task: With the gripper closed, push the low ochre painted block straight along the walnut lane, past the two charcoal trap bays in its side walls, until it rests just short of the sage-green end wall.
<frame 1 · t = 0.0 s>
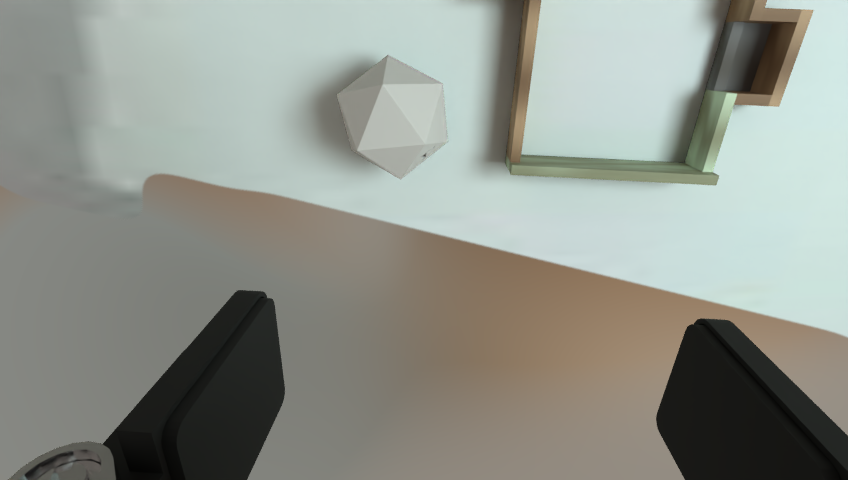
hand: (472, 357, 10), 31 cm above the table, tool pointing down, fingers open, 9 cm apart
die: (399, 112, 38), on the table
lane: (631, 4, 34), on the table
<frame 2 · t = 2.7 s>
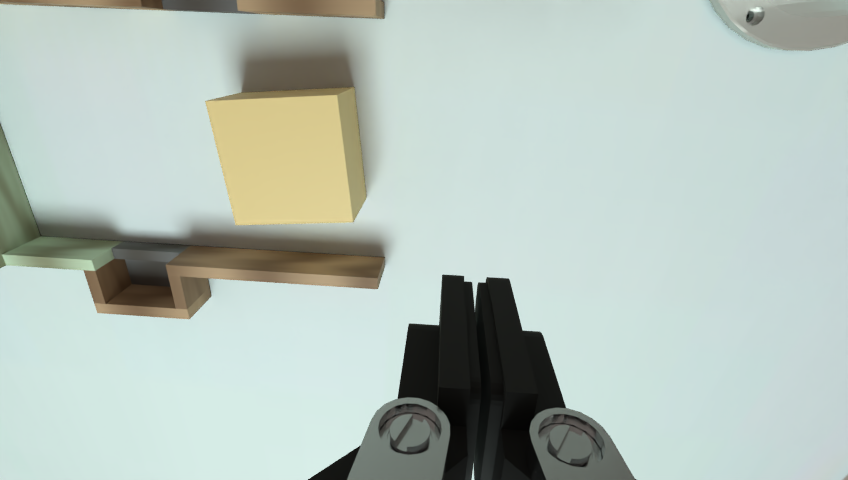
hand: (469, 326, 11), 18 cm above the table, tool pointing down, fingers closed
block: (307, 146, 28), on the table
lane: (184, 141, 28), on the table
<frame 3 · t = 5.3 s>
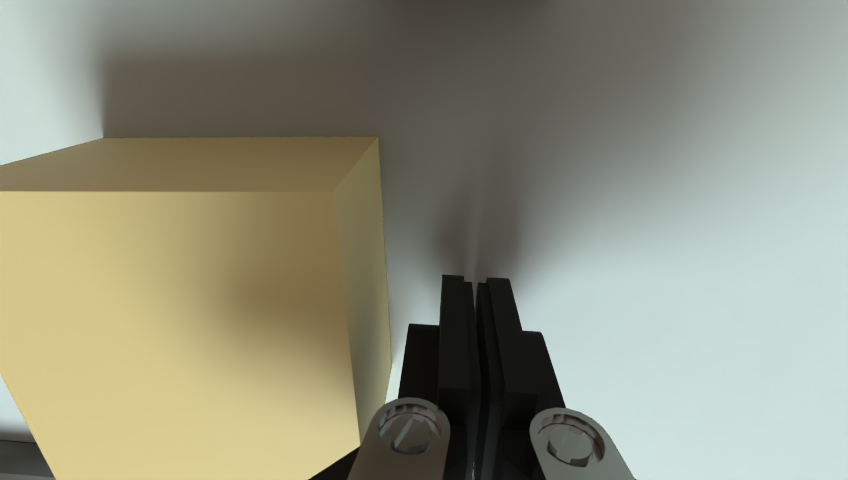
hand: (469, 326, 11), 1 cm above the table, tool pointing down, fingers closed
block: (263, 261, 12), on the table
lane: (58, 267, 13), on the table
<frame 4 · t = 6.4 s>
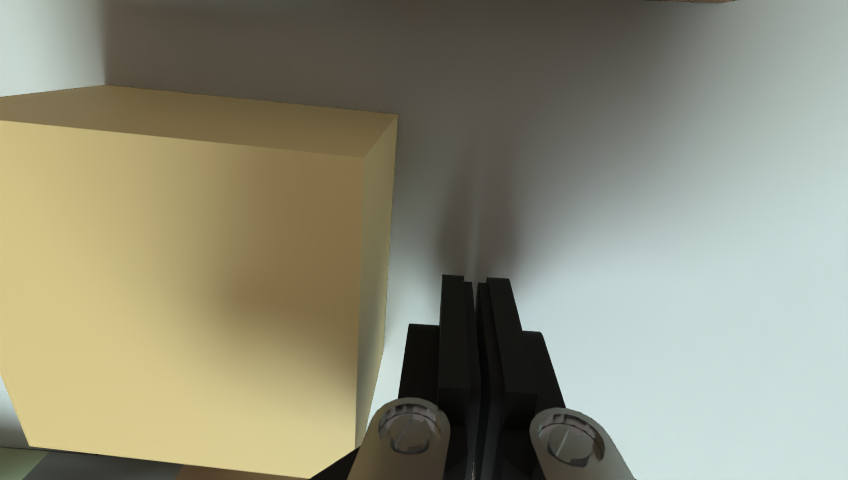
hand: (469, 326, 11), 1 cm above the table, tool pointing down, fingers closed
block: (263, 231, 12), on the table
lane: (171, 281, 12), on the table
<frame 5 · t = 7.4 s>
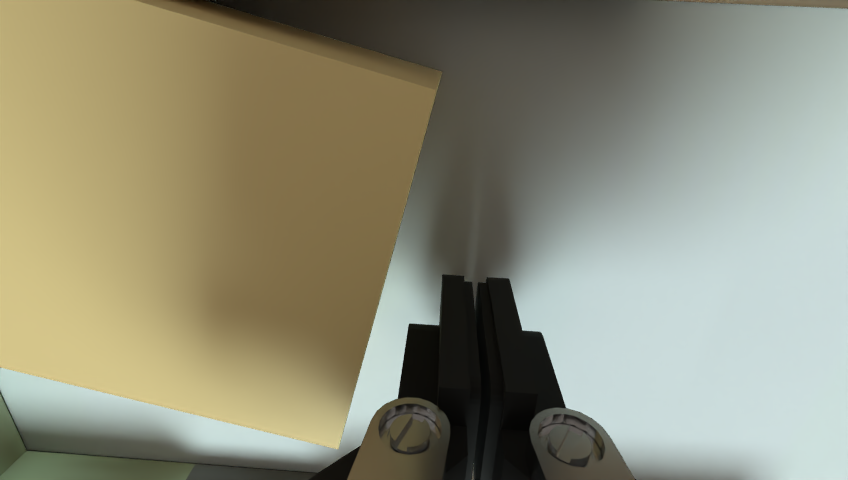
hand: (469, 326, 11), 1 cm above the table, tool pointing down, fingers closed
block: (271, 173, 11), on the table
lane: (358, 293, 12), on the table
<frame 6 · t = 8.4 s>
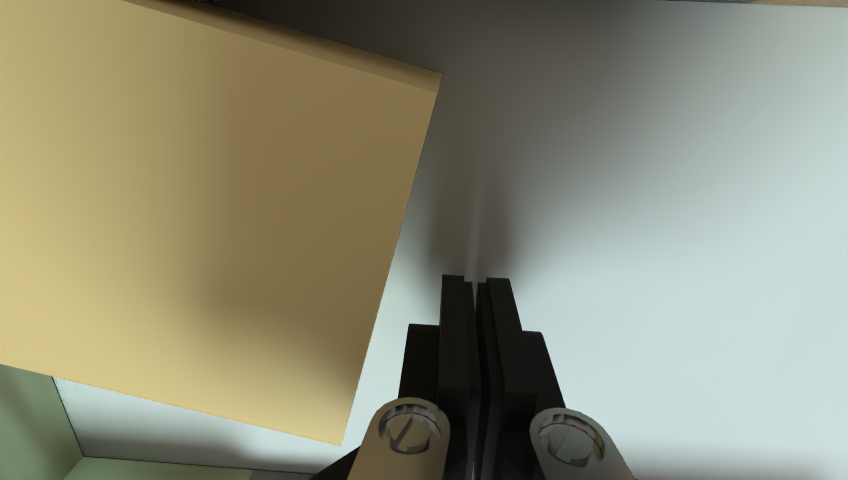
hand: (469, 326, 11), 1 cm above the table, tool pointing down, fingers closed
block: (274, 174, 11), on the table
lane: (431, 299, 12), on the table
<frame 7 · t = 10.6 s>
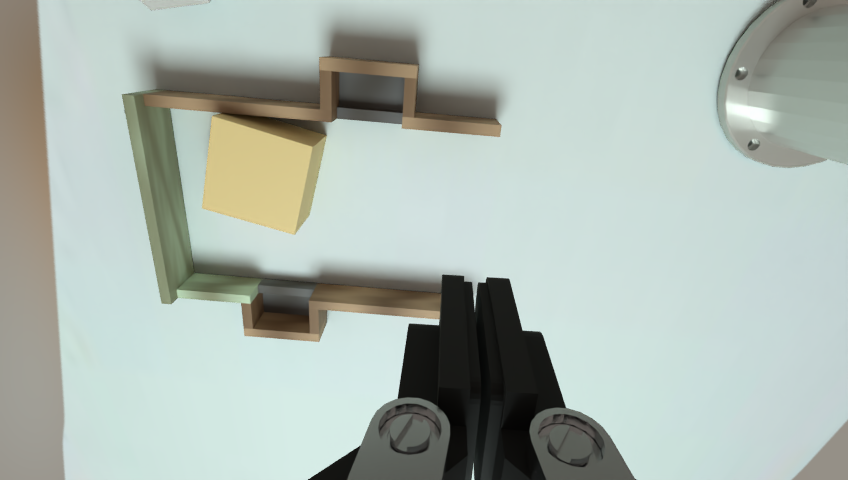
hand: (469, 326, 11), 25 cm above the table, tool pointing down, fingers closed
block: (276, 163, 35), on the table
lane: (327, 206, 37), on the table
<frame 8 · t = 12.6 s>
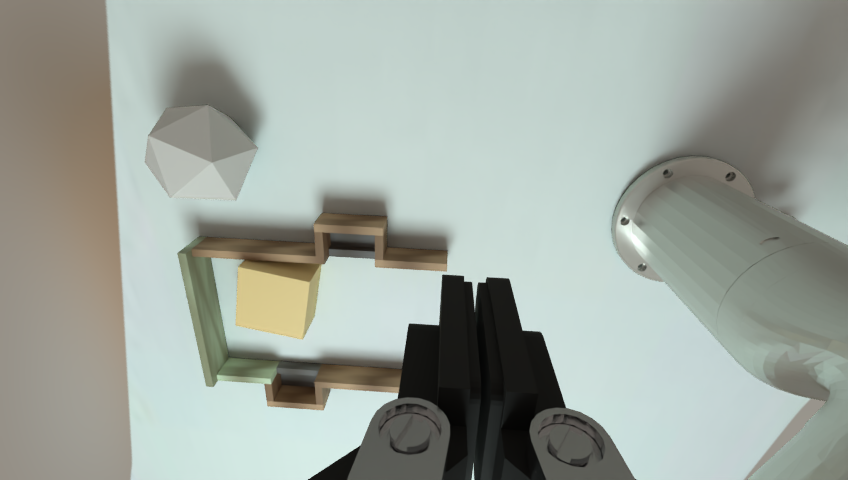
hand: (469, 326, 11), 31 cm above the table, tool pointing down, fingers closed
block: (287, 282, 48), on the table
die: (223, 145, 42), on the table
lane: (326, 311, 49), on the table
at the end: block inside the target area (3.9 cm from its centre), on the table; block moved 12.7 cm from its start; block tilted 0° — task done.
